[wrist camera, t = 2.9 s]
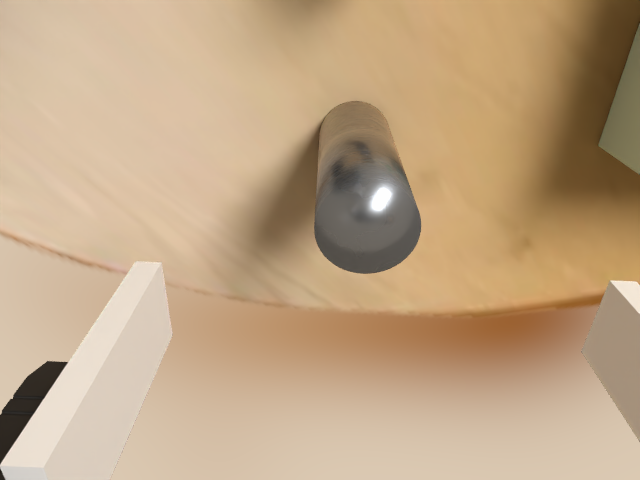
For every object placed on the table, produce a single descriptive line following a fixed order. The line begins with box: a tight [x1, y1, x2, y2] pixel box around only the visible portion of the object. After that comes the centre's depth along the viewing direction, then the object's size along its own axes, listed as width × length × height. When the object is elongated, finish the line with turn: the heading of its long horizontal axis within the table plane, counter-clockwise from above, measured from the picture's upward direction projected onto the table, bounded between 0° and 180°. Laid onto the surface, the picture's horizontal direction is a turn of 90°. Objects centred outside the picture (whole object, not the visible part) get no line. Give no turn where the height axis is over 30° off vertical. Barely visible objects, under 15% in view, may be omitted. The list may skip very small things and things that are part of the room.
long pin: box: [314, 101, 421, 274], centre depth 23 cm, size 4×4×11 cm
